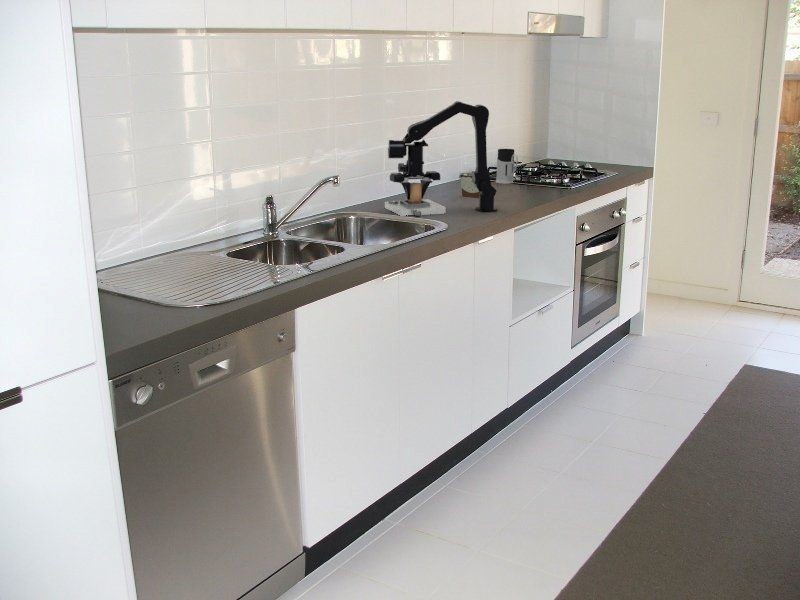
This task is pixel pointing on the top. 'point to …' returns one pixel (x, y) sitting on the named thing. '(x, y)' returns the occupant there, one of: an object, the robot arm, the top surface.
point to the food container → (468, 186)
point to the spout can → (415, 193)
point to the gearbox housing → (414, 207)
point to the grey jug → (506, 166)
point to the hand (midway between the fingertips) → (414, 199)
